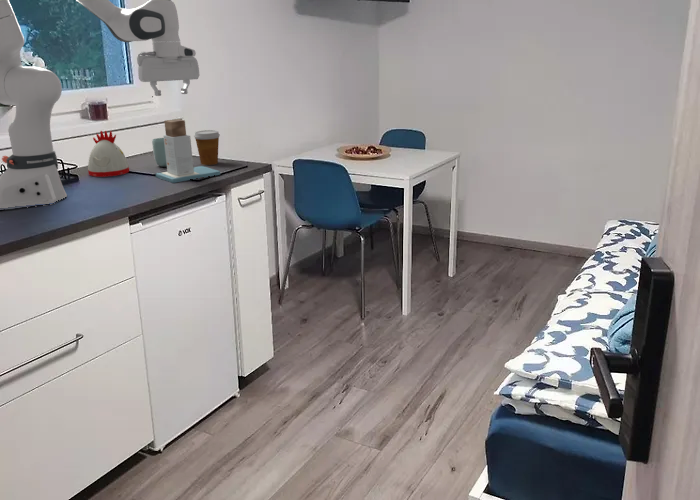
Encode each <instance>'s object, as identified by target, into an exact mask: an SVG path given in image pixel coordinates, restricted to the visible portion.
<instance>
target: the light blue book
mask: <svg viewBox="0 0 700 500" xmlns="http://www.w3.org/2000/svg"><path fill="white" fill-rule="evenodd" d="M193 167H194V173H191V174H185V175H179V176H177V175H174V174H171V173H168V172H167V171H162V172H157V173H155V178H158V179H161V180H164V181H166V182H168V183H169V182H170V183H172V184H175V183H179V182H185V181H191V180H190V179H193V180H197V179H196V178H198V179H201V178H200V177H204V178H208V176H210V177H214V175H215V176H220V175H221V171H220V170H217V169H214V168H210V167H207V166H205V165H200V166H199V165H198V166H193Z"/></svg>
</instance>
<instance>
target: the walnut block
mask: <svg viewBox="0 0 700 500" xmlns="http://www.w3.org/2000/svg"><path fill="white" fill-rule="evenodd" d="M163 122H164V130H165V131H164V132H165V135H166V136H170V137H178V136H185V135H187V130H186V129H187V128H186V127H187V126H186V121H185V119H184V120H183V119H179V118H177V119H176V118H175V119H166V120H164V121H163Z"/></svg>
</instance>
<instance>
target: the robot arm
mask: <svg viewBox="0 0 700 500" xmlns="http://www.w3.org/2000/svg"><path fill="white" fill-rule="evenodd" d="M76 2H78V3H79V4H80V5H82V6H83V7H84V8H85V9H87V10H88V11H89V12H90V13H92V14H93V15H94V16H95V17H97V18H98V19H99V20H101V22H102V23H104V25H105V26H106V27H107V28H108V29H107V30H109V32H110V33H111V35H112V36H113V37H114V38H115V39H116V40H118V41H120V42H122V43H132V42H144V41H149V40H151V44H152V51H141V52H140V53H139V54H138V55H137V56H136V60H137V65H138V67H137V71H138V72H137V73H138V80H140V82H142V83H149V84H150V87H151V88H152V90H153V91H154V96H155V97H159V96H162V93H161V92H162V91H161V89H158V86H157V85H158V82H168V81H173V82H174V81H182V83H183V88H181V87H180V91H181V92H180V94H182V95H188V93H189V92H188V89H189V87H190V83H191V81H193V80H198V79H199V78H200V68H199V62H198V60H197V58H196V57H195V56H196V53H197V52H196V50H195V49H192V48H191V47H186V46H184V45H181V39H180V36H179V30H180V23H179V16H178V11H177V7H176V4H175V2H174V1H172V0H148V1H147V2H145V3H144V4H141V5H140V6H138V7H137V6H136V8H130V9H129V8H123V7H119V6H117V5H115V4H114V3H113V2H112V1H110V0H76ZM24 45H25V37H24V34H23V32H22V30H21V26H20V24H19V22H18V19H17V17H16V15H15V12H14V10H13V7H12V5H11V3H10V0H0V104H2V105H4V106H15V117H14V120H13V122H11V124H9V126H8V129H7V131H8V137H9V141H10V145H11V150H12V154H11V155H9V156H7V155H3V156H2V157H1V161H2V162H3V163H5V164H6V165H7V166H6V167H7V169H6V170H4V172H2V174H1V175H0V208H8V207H15V206H26V205H35V204H49V203H54V202H56V201H57V202H59V201H62V200H63V198H64V199H65V197H66V198H67V197H68V194H67V192H66V191H65V188H64V186H63V183H62V180H61V177H60V174H59V162H58V157H57V154H56V151H55V150H54V146H53V139H52V132H51V119H52V112H53V108H54V106H55V105H56V103H57V102H58V101H59V99H60V97H61V95H62V89H63V87H62V83H61V80H60V78H59V77H58V75H57V74H56V73H55V72H53V71H51V70H49V69H45V68H42V67H39V66H24V65H23V64H22V60H21V59H22V58H21V49H23V47H24ZM61 199H62V200H61ZM58 200H59V201H58ZM57 202H56V203H57ZM54 204H55V203H54Z"/></svg>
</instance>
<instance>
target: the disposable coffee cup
mask: <svg viewBox="0 0 700 500" xmlns="http://www.w3.org/2000/svg"><path fill="white" fill-rule="evenodd" d="M220 136H221V135H220V134H219V131H218V130H216V129H215V130H214V129H213V130H212V129H208V130H205V129H204V130H198V131H195V132H194V135H193V137H194V139H195V141H196V147H197V152H198V157H199V161H200V165H201V166H213V165H217V164H218V163H219V161H218V160H219V141H220V140H219V138H220Z"/></svg>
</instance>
